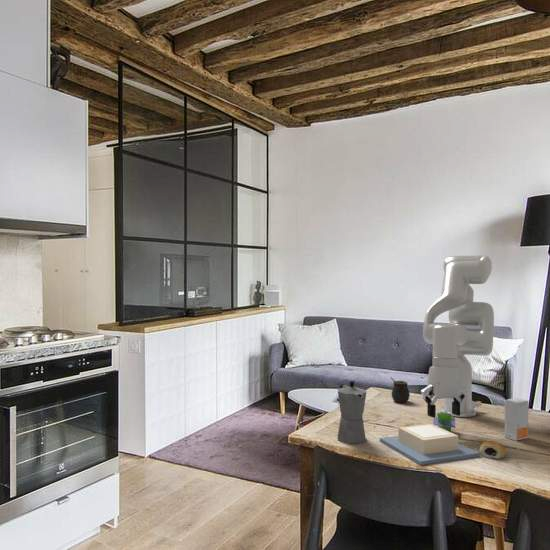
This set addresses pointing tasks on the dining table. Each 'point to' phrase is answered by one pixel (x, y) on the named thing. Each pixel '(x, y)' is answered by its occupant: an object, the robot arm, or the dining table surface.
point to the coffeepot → (351, 414)
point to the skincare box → (516, 419)
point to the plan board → (429, 457)
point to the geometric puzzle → (445, 421)
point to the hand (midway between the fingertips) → (443, 415)
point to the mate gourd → (400, 391)
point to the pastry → (492, 450)
